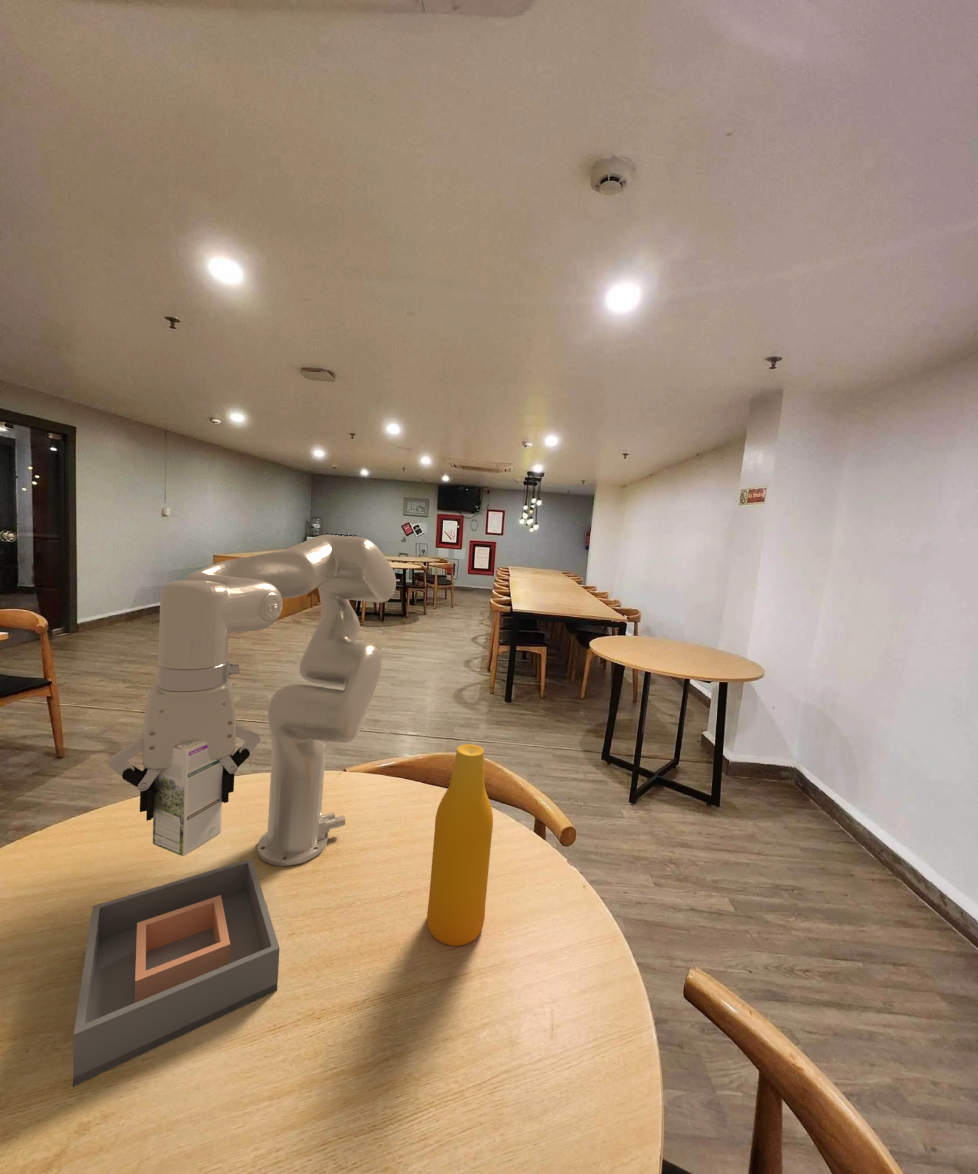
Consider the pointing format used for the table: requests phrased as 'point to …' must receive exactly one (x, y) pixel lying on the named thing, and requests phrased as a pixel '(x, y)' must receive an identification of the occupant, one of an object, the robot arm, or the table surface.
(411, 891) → the table surface
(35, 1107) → the table surface
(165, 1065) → the table surface
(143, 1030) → the walled box
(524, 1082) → the table surface
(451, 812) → the beer bottle
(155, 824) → the syrup box
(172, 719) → the robot arm
